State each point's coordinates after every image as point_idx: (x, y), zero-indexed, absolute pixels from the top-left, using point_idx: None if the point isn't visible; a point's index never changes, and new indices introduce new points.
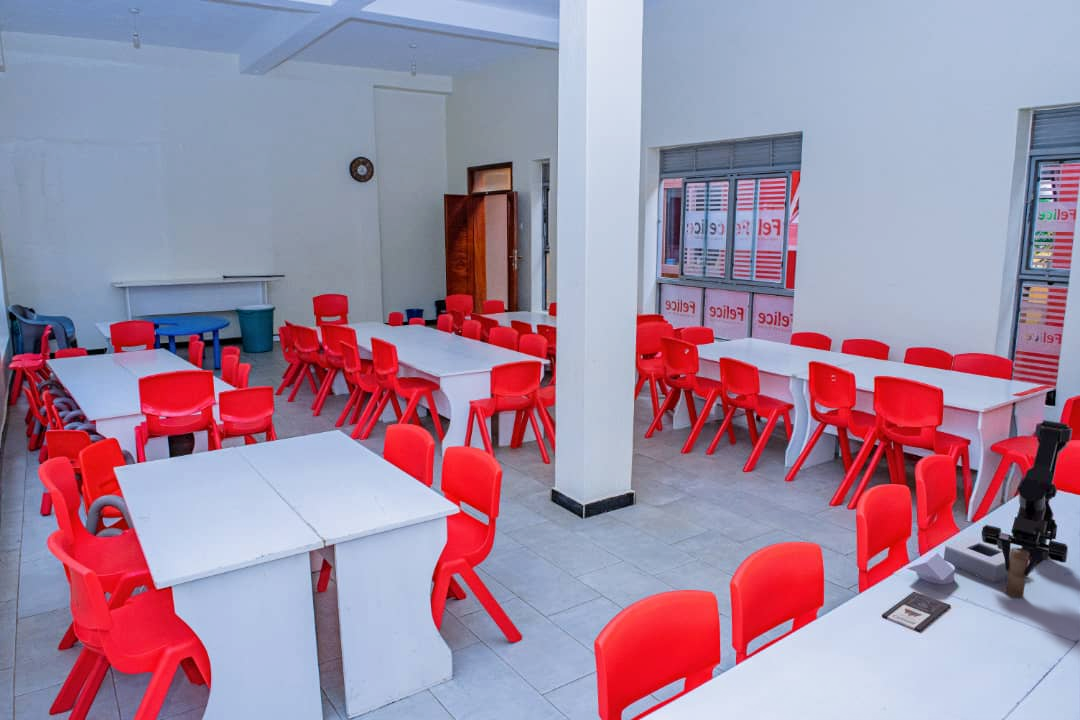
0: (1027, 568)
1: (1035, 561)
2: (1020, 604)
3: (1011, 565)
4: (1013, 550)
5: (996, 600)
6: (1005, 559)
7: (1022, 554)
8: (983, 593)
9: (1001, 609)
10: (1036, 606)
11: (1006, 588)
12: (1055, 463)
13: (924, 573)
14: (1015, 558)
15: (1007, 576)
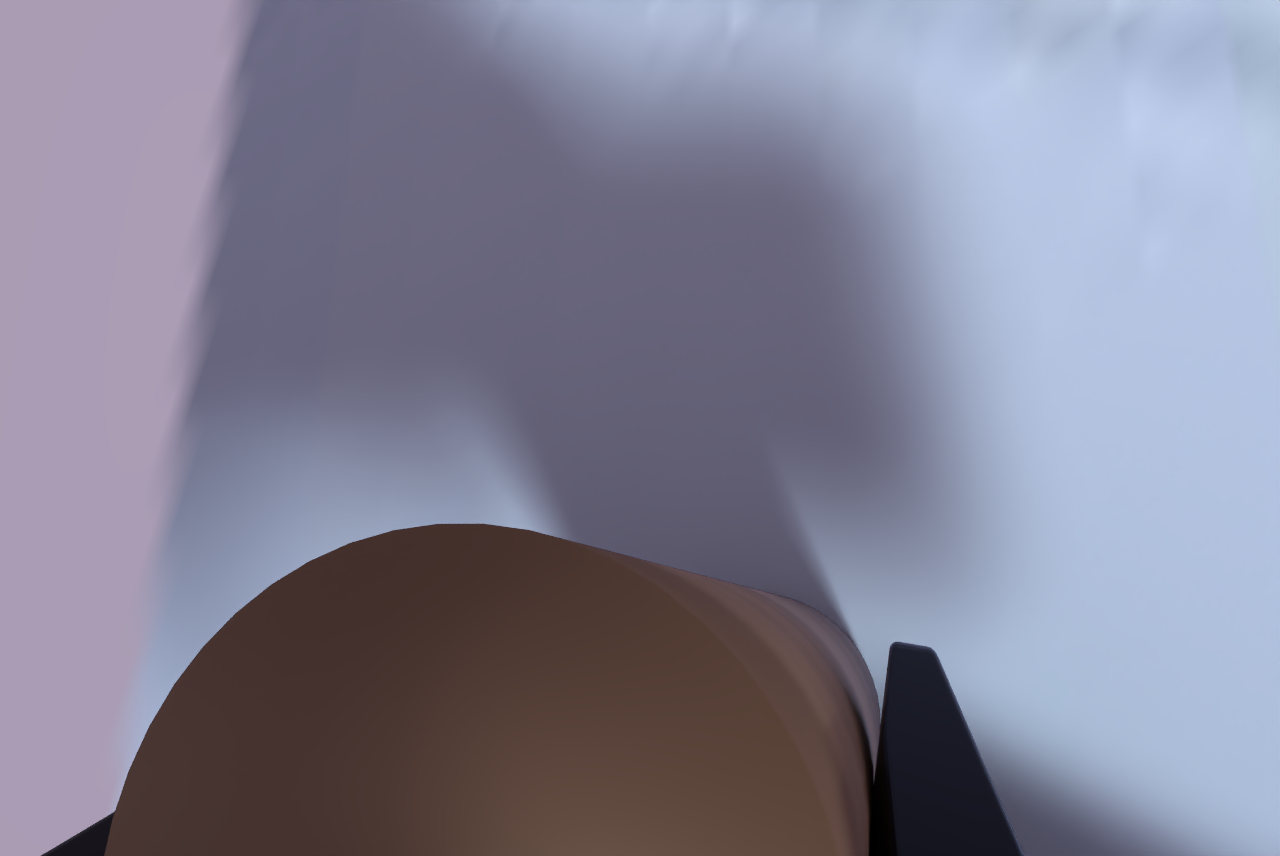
0: None
1: None
2: (674, 429)
3: (803, 643)
4: (742, 849)
5: (972, 359)
6: (999, 840)
7: (382, 538)
8: (1176, 494)
9: (892, 121)
10: (495, 491)
11: (862, 664)
12: None
13: None
14: (680, 581)
15: (870, 719)
